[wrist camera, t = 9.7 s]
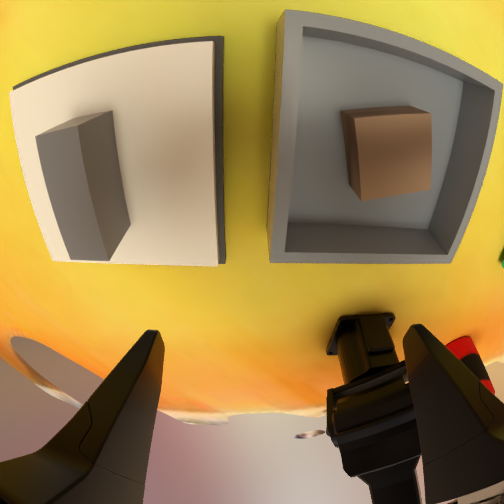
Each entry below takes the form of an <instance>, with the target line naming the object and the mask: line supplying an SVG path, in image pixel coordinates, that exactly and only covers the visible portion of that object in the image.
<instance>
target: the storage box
mask: <svg viewBox="0 0 504 504" xmlns="http://www.w3.org/2000/svg"><path fill="white" fill-rule="evenodd" d="M502 89H503V84H502V83H501V82H499V81H498V80H496V79H495V78H493V77H491V76H490V75H488V74H486V73H485V72H483V71H481V70H480V69H478V68H476V67H474V66H472V65H471V64H469V63H467V62H465V61H463V60H461V59H459V58H457V57H455V56H453V55H451V54H449V53H447V52H445V51H442V50H440V49H438V48H436V47H433V46H431V45H429V44H426V43H424V42H421V41H419V40H416V39H414V38H411V37H408V36H405V35H402V34H400V33H397V32H394V31H390V30H387V29H384V28H381V27H377V26H374V25H370V24H366V23H362V22H358V21H354V20H350V19H345V18H341V17H336V16H330V15H325V14H319V13H312V12H305V11H296V10H287V9H285V11H284V12H283V14H282V15H281V17H280V19H279V21H278V22H277V34H276V60H275V83H274V104H273V125H272V144H271V162H270V179H269V196H268V212H267V237H268V248H269V258H270V263H363V264H432V263H451V262H452V260H453V258H454V256H455V253H456V251H457V249H458V247H459V245H460V242H461V240H462V238H463V235H464V233H465V231H466V228H467V226H468V223H469V221H470V218H471V215H472V213H473V210H474V207H475V205H476V202H477V199H478V196H479V193H480V190H481V187H482V184H483V180H484V177H485V174H486V170H487V167H488V163H489V159H490V155H491V151H492V147H493V143H494V138H495V134H496V129H497V123H498V118H499V112H500V105H501V98H502ZM391 106H413V107H415V108H418V109H421V110H424V111H426V112H429V113H431V120H432V168H431V186H430V190H426V191H420V192H414V193H407V194H401V195H395V196H389V197H383V198H378V199H372V200H366V201H361V200H360V199H359V197H358V196H357V195H356V193H355V192H354V191H353V189H352V188H351V187H350V185H349V181H348V170H347V160H346V151H345V142H344V135H343V127H342V120H341V113H340V111H343V110H353V109H363V108H375V107H391Z"/></svg>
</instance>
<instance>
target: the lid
mask: <svg viewBox="0 0 504 504" xmlns="http://www.w3.org/2000/svg"><path fill="white" fill-rule="evenodd" d="M214 73H215V43H214V42H213V41H204V42H191V43H180V44H172V45H164V46H157V47H151V48H145V49H139V50H134V51H129V52H124V53H120V54H115V55H111V56H107V57H103V58H99V59H96V60H92V61H89V62H85V63H82V64H79V65H75V66H72V67H69V68H66V69H64V70H61V71H58V72H55V73H53V74H50V75H47V76H45V77H42V78H40V79H38V80H35V81H33V82H30V83H28V84H26V85H24V86H22V87H19V88H17V89H15V90H13V91H11V92H9V93H10V104H11V112H12V120H13V127H14V133H15V138H16V144H17V149H18V154H19V158H20V163H21V167H22V171H23V175H24V179H25V183H26V186H27V190H28V193H29V197H30V200H31V203H32V206H33V209H34V212H35V215H36V218H37V221H38V224H39V227H40V229H41V232H42V235H43V237H44V240H45V243H46V245H47V248H48V250H49V252H50V255H51V257H52V260H53V261H64V262H88V263H115V264H145V265H181V266H218V263H219V244H218V223H217V199H216V167H215V108H214Z"/></svg>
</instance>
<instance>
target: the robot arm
mask: <svg viewBox="0 0 504 504" xmlns="http://www.w3.org/2000/svg"><path fill="white" fill-rule="evenodd" d="M394 320H395V315H394V314H393V313H390V314H377V315H361V316H344V317H341V318H339V320H338V322H337V325H336V327H335V330H334V333H333V335H332V338H331V340H330V343H329V345H328V347H327V350H326V353H327V355H338V357H339V361H340V366H341V371H342V375H343V380H344V385H342V386H339V387H336V388H334V389H333V388H331V389H328V390H327V428H326V434H327V435H328V436H330V437H331V440H332V442H333V444H334V445H335V447H337V448H338V447H339V450H340V453H341V458H342V464H343V469H344V471H345V472H346V473H347V474H348V475H349V476H350V477H355V476H357V477H359V478H360V479H361V480H362V481H364V482H365V483H366V484H367V485H368V486H369V489H370V494H371V499H372V503H373V504H422V499H421V493H420V487H419V482H418V477H417V471H416V466H417V463H418V461H419V458H420V456H421V455H422V462H423V473H424V485H425V501H426V504H437V503H441V502H444V501H448V500H452V499H455V498H457V499H456V500H454V501H452V502H450V503H448V504H504V404H503V403H502V402H501V401H500V400H499V399H498V398H497V397H496V396H495V395H494V394H493V393H492V392H491V391H490V390H489V389H488V388H487V387H486V386H485V385H484V384H483V383H482V382H481V381H479V379H478V378H477V377H476V376H475V375H474V374H473V373H472V372H471V371H470V370H469V369H468V368H467V367H466V366H465V365H464V364H463V363H462V362H461V361H460V360H459V359H458V358H457V357H456V356H455V355H454V354H453V353H452V352H451V351H450V350H449V349H448V348H447V347H446V346H445V345H443V344H442V343H441V342H440V341H439V340H438V339H437V338H436V337H435V336H434V335H433V334H432V333H431V332H430V331H429V330H428V329H426V328H425V327H424V326H423V325H422V324H413V325H411V326H410V328H409V329H408V331H407V333H406V334H405V336H404V338H403V349H404V355H405V360H403V361H401V362H399V360H398V357H397V354H396V351H395V349H394V348H395V346H394V343H393V340H392V337H391V335H390V332H389V329H390V327H391V325H392V324H393V322H394ZM164 352H165V346H164V342H163V340H162V337H161V334H160V332H159V331H158V330H147V331H145V333H144V334H143V335H142V336H141V337H140V338H139V340H138V341H137V342H136V343H135V344H134V345H133V346H132V348H131V349H130V350H129V351H128V352H127V353H126V355H125V356H124V357H123V358H122V359H121V361H120V362H119V363H118V364H117V365H116V366H115V368H114V369H113V370H112V371H111V372H110V374H109V375H108V376H107V377H106V378H105V380H104V381H103V382H102V383H101V384H100V386H99V387H98V388H97V389H96V390H95V392H94V393H93V394H92V395H91V396H90V398H89V399H88V401H86V402H85V404H84V405H83V406H82V407H81V408H80V410H79V411H78V412H77V413H76V414H75V415H74V417H73V418H72V419H71V420H70V421H69V422H68V423H67V424H66V425H65V426H64V427H63V428H62V429H61V430H60V431H59V432H58V433H57V434H56V435H55V436H54V437H53V438H52V439H51V440H50V441H49V442H48V443H47V444H46V445H44V446H43V447H42V448H41V449H39V450H38V451H36V452H34V453H32V454H28V455H25V456H22V457H18V458H14V459H11V460H7V461H3V462H0V504H143V496H144V489H145V485H144V484H145V480H146V473H147V466H148V460H149V453H150V446H151V441H152V435H153V429H154V424H155V418H156V413H157V407H158V402H159V397H160V392H161V384H162V373H163V362H164ZM407 381H409V383H407V384H405V382H407Z"/></svg>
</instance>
